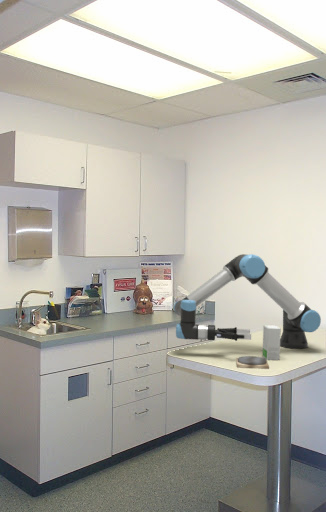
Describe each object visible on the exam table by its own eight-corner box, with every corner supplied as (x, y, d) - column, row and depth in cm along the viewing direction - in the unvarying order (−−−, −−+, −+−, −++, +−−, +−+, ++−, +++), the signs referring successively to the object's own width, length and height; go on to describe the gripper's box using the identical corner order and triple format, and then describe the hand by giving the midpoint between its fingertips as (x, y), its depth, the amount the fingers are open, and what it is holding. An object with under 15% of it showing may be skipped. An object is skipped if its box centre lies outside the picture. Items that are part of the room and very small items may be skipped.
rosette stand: (266, 361, 229) (266, 356, 229) (268, 368, 215) (269, 363, 215) (236, 360, 231) (236, 355, 231) (237, 367, 217) (237, 362, 217)
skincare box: (262, 356, 241) (262, 325, 240) (275, 356, 241) (275, 325, 241) (267, 360, 232) (267, 327, 232) (280, 360, 233) (281, 327, 233)
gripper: (207, 335, 253) (249, 337, 250) (205, 344, 228) (251, 347, 226) (208, 321, 253) (249, 323, 250) (206, 328, 228) (252, 330, 225)
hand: (250, 334), depth 238 cm, fingers open, 13 cm apart
